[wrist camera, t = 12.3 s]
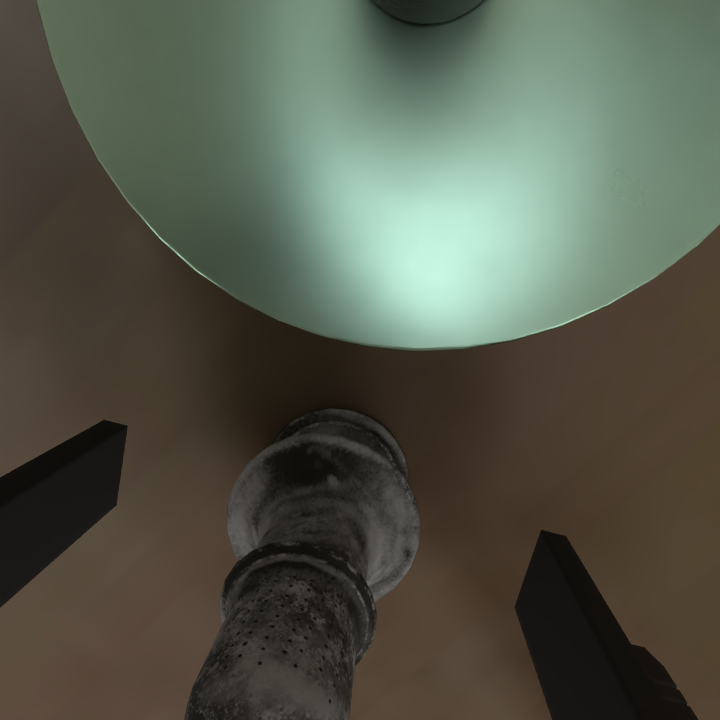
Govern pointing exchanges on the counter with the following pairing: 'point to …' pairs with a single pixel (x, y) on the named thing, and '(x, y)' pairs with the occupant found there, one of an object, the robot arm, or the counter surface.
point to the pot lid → (406, 151)
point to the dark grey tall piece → (307, 570)
